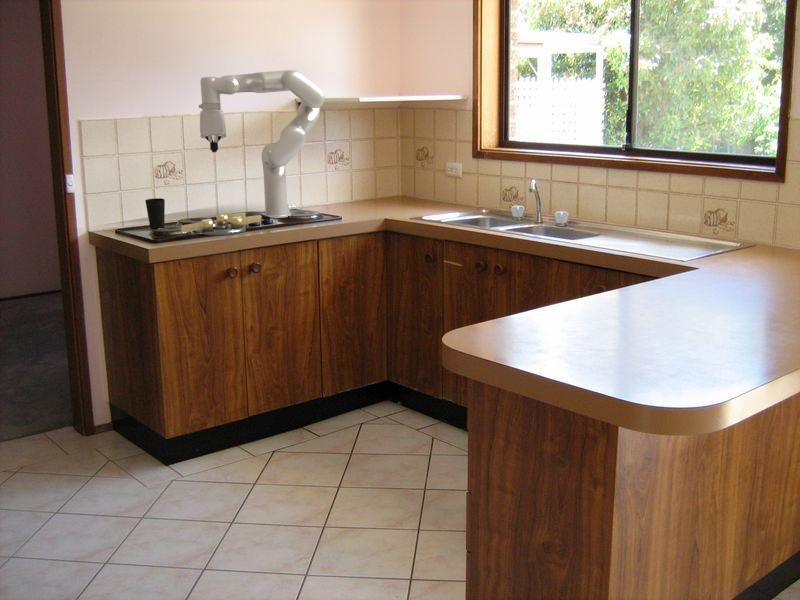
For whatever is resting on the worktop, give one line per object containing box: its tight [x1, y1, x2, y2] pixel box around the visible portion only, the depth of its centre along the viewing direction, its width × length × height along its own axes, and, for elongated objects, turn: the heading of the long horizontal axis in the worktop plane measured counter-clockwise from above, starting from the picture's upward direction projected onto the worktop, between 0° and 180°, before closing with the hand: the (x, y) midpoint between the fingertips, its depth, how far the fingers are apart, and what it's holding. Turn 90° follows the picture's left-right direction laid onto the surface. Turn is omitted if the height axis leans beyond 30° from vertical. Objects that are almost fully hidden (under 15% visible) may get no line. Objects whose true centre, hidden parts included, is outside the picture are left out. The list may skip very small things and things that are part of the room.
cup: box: [144, 197, 166, 230], centre depth 368 cm, size 8×8×12 cm
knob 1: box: [216, 211, 247, 225], centre depth 372 cm, size 14×5×4 cm, turn 140°
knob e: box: [180, 218, 214, 233], centre depth 355 cm, size 14×5×4 cm, turn 138°
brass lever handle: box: [230, 214, 263, 228], centre depth 366 cm, size 14×5×4 cm, turn 134°
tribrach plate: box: [195, 222, 247, 237], centre depth 363 cm, size 20×20×3 cm
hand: (214, 151), depth 379 cm, fingers closed
